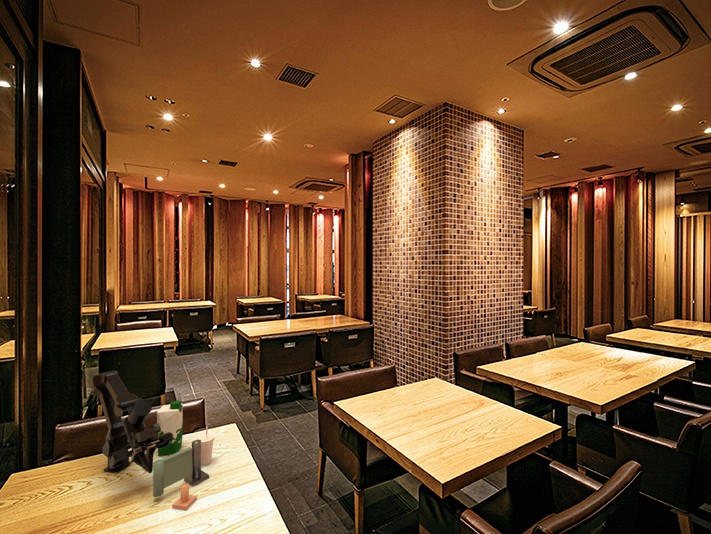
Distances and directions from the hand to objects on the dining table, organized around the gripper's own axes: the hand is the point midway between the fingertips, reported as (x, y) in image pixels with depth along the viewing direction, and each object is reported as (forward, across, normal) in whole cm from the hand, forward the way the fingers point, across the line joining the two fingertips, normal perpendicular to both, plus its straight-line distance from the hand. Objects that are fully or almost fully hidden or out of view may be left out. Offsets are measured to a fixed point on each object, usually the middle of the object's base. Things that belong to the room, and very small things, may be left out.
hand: (151, 472), depth 115 cm
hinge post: (+9, +13, +2) cm, 16 cm away
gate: (+7, +5, 0) cm, 9 cm away
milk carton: (-11, +17, +21) cm, 29 cm away
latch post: (+15, +4, -5) cm, 16 cm away
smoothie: (+4, +21, +7) cm, 22 cm away
